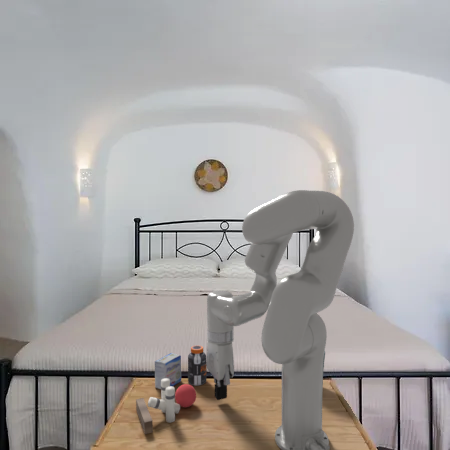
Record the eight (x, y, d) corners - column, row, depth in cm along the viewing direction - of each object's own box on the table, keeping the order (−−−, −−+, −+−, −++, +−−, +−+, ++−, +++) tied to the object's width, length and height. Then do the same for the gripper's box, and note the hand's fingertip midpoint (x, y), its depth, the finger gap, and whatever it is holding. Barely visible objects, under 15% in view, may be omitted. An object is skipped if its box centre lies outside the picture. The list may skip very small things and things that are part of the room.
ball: (170, 402, 102) (188, 414, 102) (183, 382, 103) (201, 394, 103) (170, 396, 108) (187, 408, 108) (182, 378, 109) (199, 389, 109)
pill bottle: (203, 386, 117) (203, 351, 116) (185, 385, 118) (185, 350, 117) (208, 378, 123) (208, 344, 122) (191, 376, 124) (190, 343, 123)
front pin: (181, 406, 101) (152, 399, 98) (177, 415, 101) (148, 408, 98) (178, 402, 104) (150, 394, 100) (174, 410, 103) (147, 403, 100)
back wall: (152, 432, 94) (152, 420, 93) (144, 434, 93) (144, 422, 93) (143, 408, 105) (143, 397, 104) (136, 409, 104) (136, 399, 104)
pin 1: (171, 411, 103) (171, 381, 102) (162, 413, 102) (162, 383, 101) (169, 407, 105) (168, 377, 105) (160, 409, 104) (159, 379, 104)
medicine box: (165, 391, 114) (165, 363, 114) (154, 387, 116) (154, 360, 116) (181, 381, 121) (181, 354, 120) (171, 377, 123) (170, 352, 123)
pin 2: (176, 421, 98) (175, 389, 98) (167, 423, 97) (166, 391, 97) (173, 416, 101) (173, 385, 100) (164, 418, 100) (164, 387, 99)
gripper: (199, 328, 112) (199, 388, 113) (218, 346, 98) (218, 414, 99) (222, 325, 115) (222, 383, 116) (243, 341, 101) (244, 407, 102)
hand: (220, 397), depth 107 cm, fingers closed
